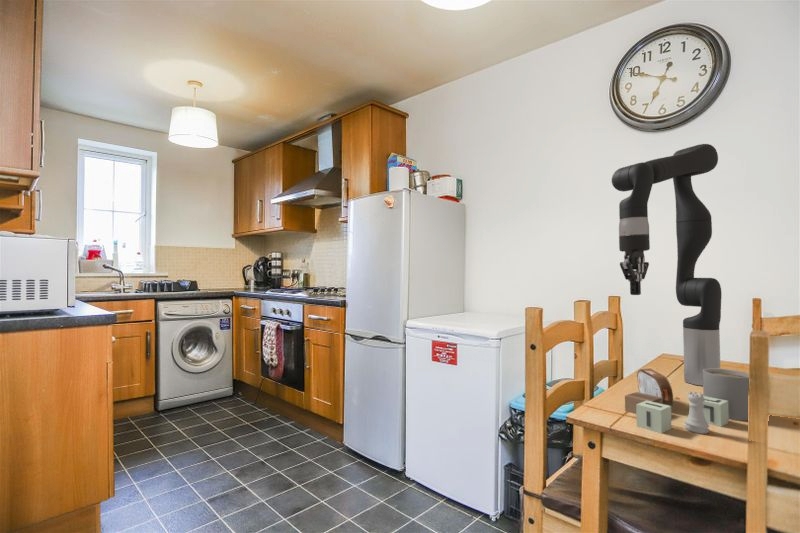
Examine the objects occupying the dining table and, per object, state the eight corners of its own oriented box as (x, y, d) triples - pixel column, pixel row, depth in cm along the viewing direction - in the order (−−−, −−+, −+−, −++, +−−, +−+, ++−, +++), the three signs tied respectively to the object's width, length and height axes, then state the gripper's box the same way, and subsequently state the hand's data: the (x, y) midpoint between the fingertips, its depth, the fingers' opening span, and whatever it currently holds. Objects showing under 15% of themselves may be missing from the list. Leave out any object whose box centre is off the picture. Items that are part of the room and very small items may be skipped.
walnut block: (637, 407, 103) (637, 391, 103) (662, 414, 98) (662, 397, 98) (625, 411, 100) (624, 395, 100) (650, 418, 95) (650, 401, 95)
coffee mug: (756, 424, 91) (754, 380, 91) (701, 414, 97) (700, 373, 98) (756, 409, 101) (755, 369, 101) (707, 401, 107) (706, 364, 108)
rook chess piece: (679, 427, 89) (678, 391, 89) (697, 426, 90) (697, 390, 90) (695, 434, 85) (694, 396, 85) (715, 434, 85) (714, 396, 85)
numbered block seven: (702, 416, 96) (702, 395, 96) (728, 422, 92) (728, 400, 92) (694, 420, 93) (693, 398, 93) (720, 427, 89) (720, 404, 89)
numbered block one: (647, 422, 92) (646, 399, 93) (671, 428, 88) (671, 405, 88) (636, 426, 90) (636, 403, 90) (661, 434, 85) (660, 409, 86)
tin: (674, 413, 99) (674, 378, 99) (660, 412, 99) (660, 378, 99) (647, 395, 113) (646, 365, 114) (635, 394, 114) (634, 365, 114)
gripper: (631, 236, 121) (632, 293, 121) (609, 234, 114) (610, 295, 113) (658, 234, 115) (660, 294, 115) (637, 232, 108) (638, 296, 107)
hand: (635, 294), depth 114 cm, fingers closed
